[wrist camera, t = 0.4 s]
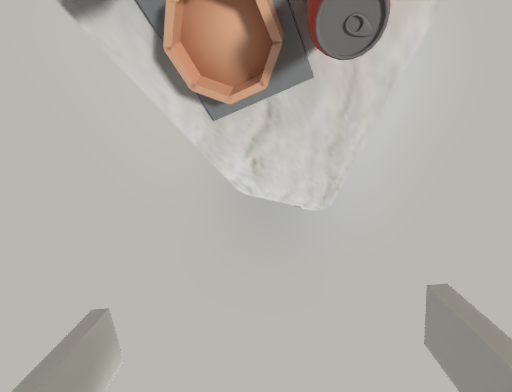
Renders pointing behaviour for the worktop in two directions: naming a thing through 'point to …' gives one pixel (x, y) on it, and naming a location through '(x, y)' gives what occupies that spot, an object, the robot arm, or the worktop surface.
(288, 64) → the mat
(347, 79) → the worktop surface
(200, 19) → the dish
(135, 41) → the worktop surface
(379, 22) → the beer can
